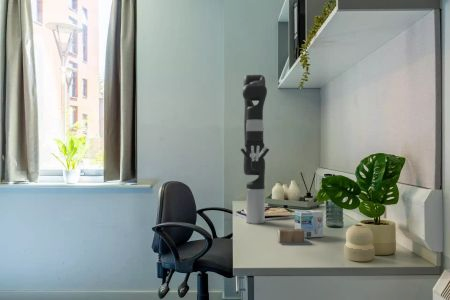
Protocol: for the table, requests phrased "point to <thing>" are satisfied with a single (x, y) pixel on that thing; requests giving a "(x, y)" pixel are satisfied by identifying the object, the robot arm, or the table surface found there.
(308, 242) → the rubber mat
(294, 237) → the walnut block
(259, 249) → the table surface
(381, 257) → the table surface
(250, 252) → the table surface
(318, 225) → the light bulb box
